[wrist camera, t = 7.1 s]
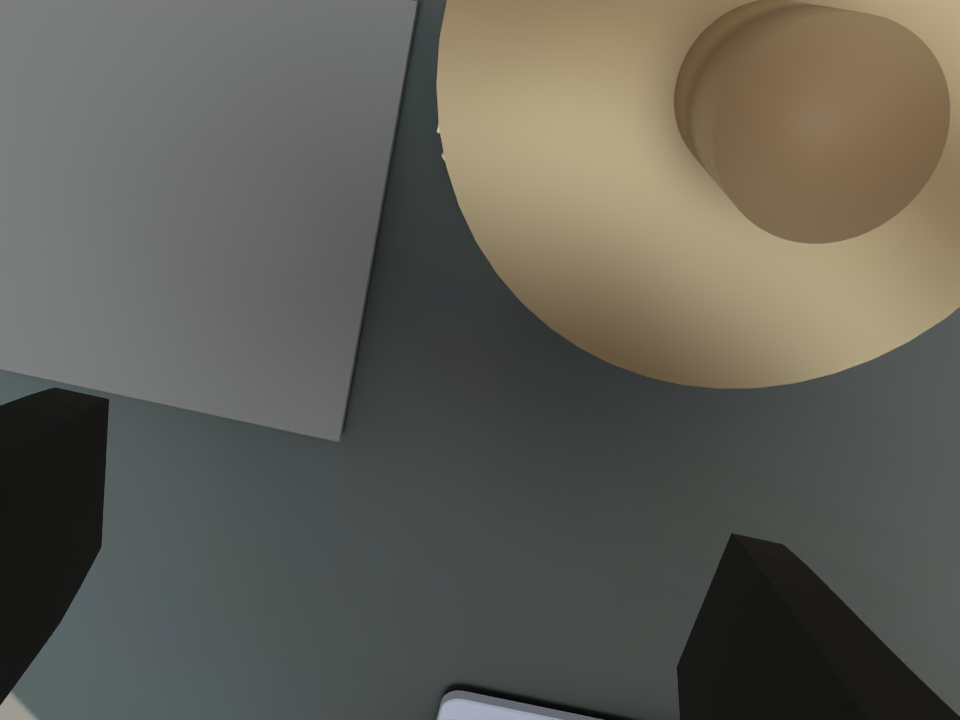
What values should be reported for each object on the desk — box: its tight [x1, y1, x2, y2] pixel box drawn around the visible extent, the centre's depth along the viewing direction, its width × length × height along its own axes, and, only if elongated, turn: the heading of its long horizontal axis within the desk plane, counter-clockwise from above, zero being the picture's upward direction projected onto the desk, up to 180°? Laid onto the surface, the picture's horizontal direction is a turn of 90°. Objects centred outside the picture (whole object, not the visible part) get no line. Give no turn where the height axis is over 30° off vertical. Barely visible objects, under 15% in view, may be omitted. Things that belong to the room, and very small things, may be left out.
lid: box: [436, 0, 960, 389], centre depth 13 cm, size 10×10×4 cm
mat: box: [0, 0, 419, 442], centre depth 19 cm, size 10×10×1 cm
